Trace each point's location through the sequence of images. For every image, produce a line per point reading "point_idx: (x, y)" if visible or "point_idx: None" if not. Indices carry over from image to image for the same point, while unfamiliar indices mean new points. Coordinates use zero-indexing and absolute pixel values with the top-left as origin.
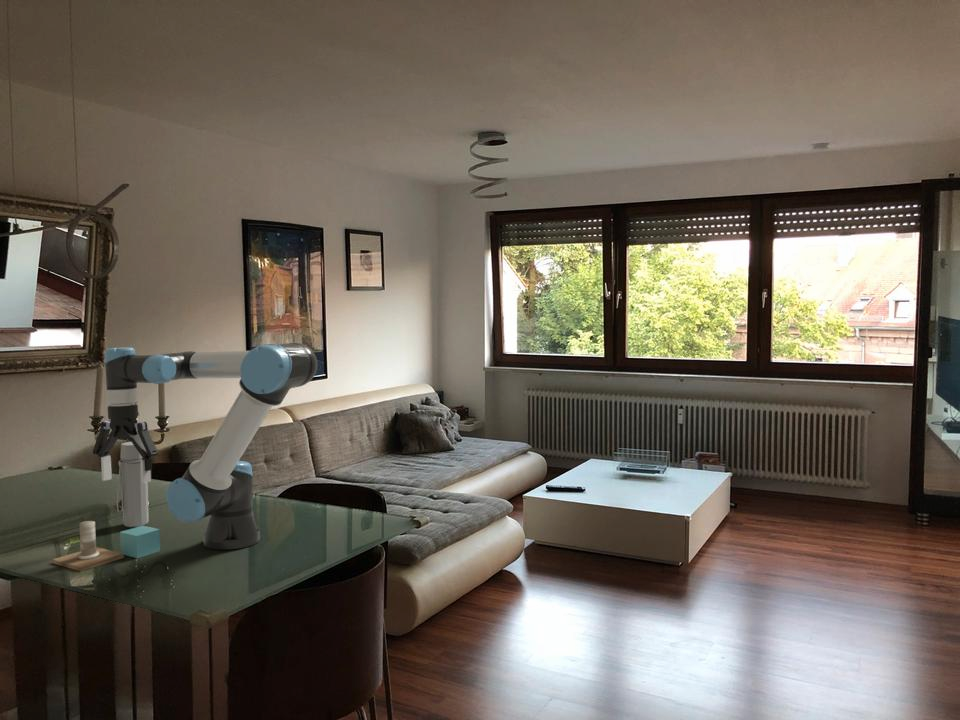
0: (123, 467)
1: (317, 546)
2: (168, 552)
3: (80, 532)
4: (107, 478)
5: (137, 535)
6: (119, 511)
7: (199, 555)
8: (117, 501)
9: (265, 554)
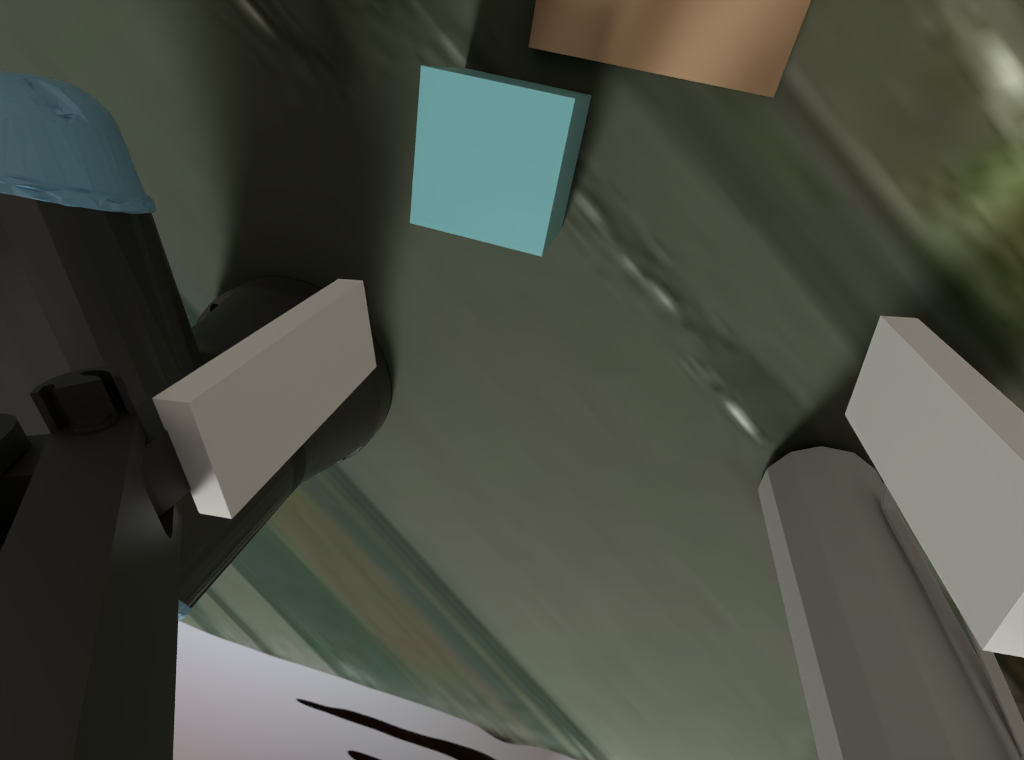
0: (997, 757)
1: None
2: (406, 195)
3: None
4: (869, 368)
5: (426, 76)
6: None
7: (275, 202)
8: None
9: None
